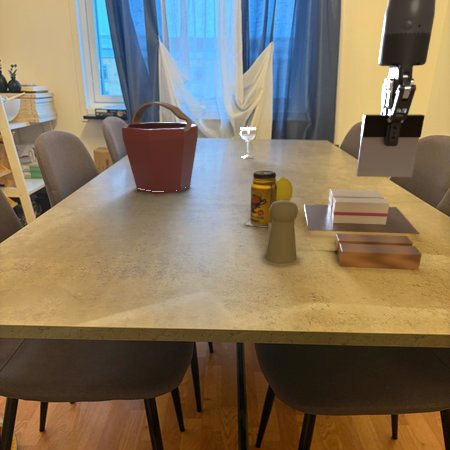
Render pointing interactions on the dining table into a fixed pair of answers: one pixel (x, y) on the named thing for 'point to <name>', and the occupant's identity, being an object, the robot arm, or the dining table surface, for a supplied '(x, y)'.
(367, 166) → the black and beige panel
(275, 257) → the cork
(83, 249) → the dining table surface
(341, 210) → the cake slice
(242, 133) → the wineglass
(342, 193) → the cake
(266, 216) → the condiment
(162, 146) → the bucket
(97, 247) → the dining table surface
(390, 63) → the robot arm
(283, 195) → the lemon
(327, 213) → the cake board
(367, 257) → the wooden card holder
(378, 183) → the dining table surface
